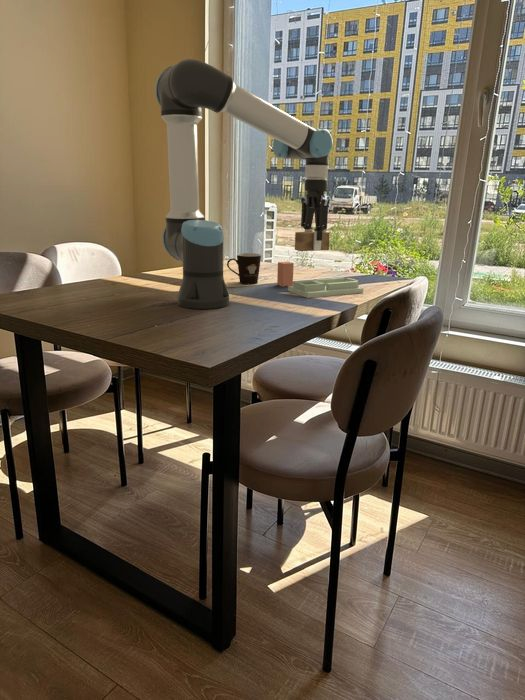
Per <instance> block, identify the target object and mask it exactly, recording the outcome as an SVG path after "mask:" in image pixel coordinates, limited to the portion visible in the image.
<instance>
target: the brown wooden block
mask: <svg viewBox="0 0 525 700" xmlns="http://www.w3.org/2000/svg"><path fill="white" fill-rule="evenodd" d="M314 229H316V227H314ZM294 234H295V235H294V250H295V251H298V252H316V251H329V250H330V249H329V248H330V234H331V233H330V232H327V229H325V230H323V231H322V241H321V250H313V243H314V231H313V232H305V231H295V233H294Z"/></svg>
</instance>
